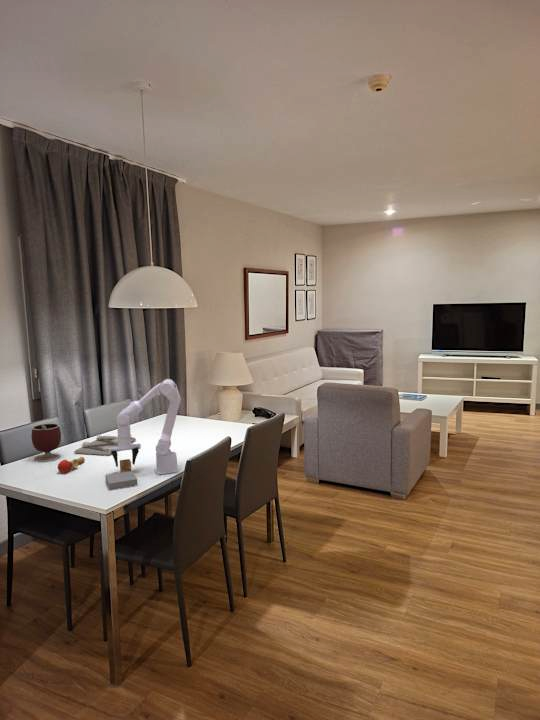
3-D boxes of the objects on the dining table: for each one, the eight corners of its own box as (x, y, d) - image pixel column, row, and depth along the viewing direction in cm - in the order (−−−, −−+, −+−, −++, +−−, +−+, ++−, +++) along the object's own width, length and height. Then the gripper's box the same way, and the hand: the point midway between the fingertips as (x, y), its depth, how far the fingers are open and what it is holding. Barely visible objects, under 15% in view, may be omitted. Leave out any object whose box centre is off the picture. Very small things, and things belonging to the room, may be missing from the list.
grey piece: (103, 439, 297) (103, 427, 296) (136, 441, 292) (136, 429, 291) (73, 454, 268) (72, 441, 267) (109, 457, 263) (108, 444, 262)
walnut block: (129, 471, 240) (129, 458, 240) (131, 473, 236) (131, 461, 235) (120, 472, 238) (119, 460, 238) (121, 475, 234) (121, 463, 234)
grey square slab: (132, 477, 232) (132, 470, 231) (137, 485, 221) (137, 479, 221) (105, 481, 227) (105, 474, 226) (109, 490, 216) (108, 483, 216)
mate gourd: (36, 455, 265) (33, 418, 263) (64, 453, 269) (61, 417, 266) (29, 465, 250) (27, 426, 248) (59, 462, 254) (57, 424, 251)
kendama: (73, 464, 254) (52, 471, 237) (76, 452, 254) (54, 458, 237) (87, 468, 253) (66, 475, 235) (89, 456, 253) (69, 462, 235)
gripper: (138, 433, 242) (139, 460, 243) (107, 436, 236) (108, 464, 237) (141, 436, 235) (142, 464, 237) (109, 440, 229) (110, 469, 231)
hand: (125, 465), depth 237 cm, fingers open, 7 cm apart
